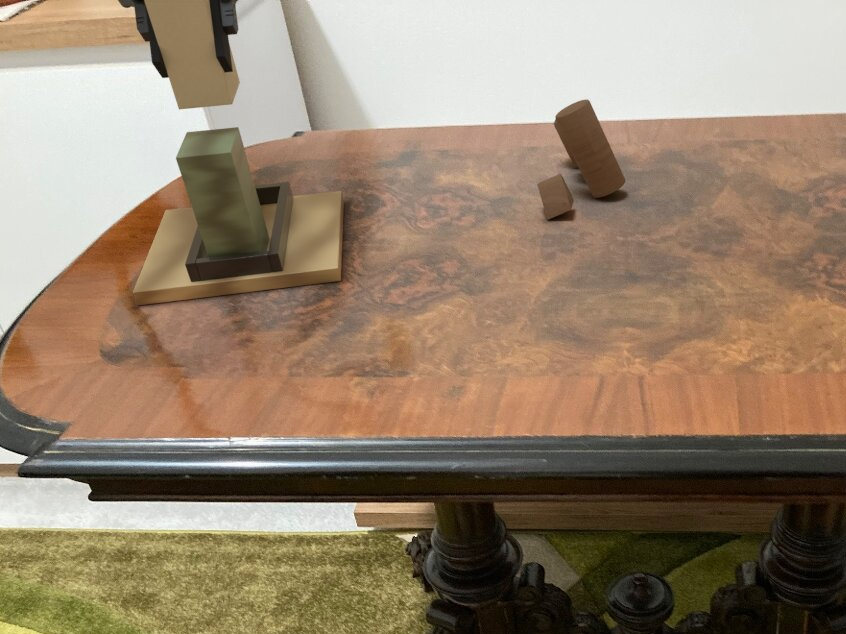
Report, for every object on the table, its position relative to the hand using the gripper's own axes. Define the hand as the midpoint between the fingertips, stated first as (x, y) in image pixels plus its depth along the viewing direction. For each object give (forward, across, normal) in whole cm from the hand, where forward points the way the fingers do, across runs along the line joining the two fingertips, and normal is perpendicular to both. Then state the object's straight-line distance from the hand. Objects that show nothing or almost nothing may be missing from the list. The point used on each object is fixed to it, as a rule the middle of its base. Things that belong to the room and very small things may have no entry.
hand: (193, 66), depth 86 cm
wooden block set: (+8, -38, -21) cm, 44 cm away
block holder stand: (+12, 0, -16) cm, 20 cm away
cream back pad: (0, 0, -5) cm, 5 cm away
